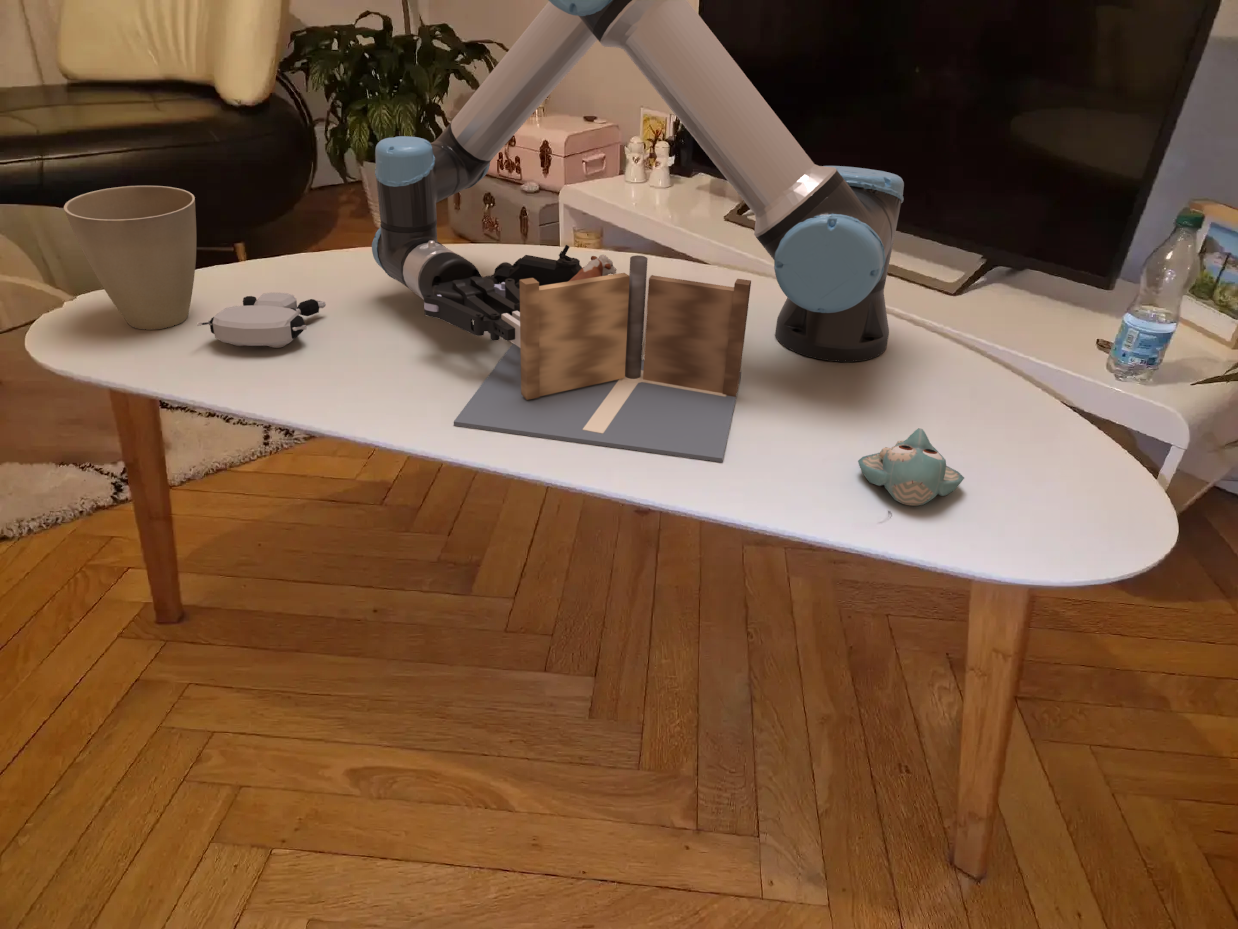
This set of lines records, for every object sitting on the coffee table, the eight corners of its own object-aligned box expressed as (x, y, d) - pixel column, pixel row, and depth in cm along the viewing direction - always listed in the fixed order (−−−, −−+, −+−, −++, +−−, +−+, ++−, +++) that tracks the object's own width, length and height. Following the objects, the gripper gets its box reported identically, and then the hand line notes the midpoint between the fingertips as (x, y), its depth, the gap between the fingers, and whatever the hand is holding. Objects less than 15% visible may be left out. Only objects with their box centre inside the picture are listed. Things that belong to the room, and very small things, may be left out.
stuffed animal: (968, 417, 99) (982, 452, 88) (954, 480, 101) (965, 522, 90) (865, 402, 101) (866, 435, 90) (853, 464, 103) (853, 503, 92)
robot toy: (245, 317, 129) (198, 354, 116) (240, 285, 127) (192, 319, 114) (333, 321, 129) (296, 359, 116) (330, 290, 127) (292, 324, 114)
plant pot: (75, 319, 124) (42, 199, 116) (182, 291, 134) (158, 179, 126) (129, 352, 116) (97, 226, 108) (238, 320, 126) (217, 202, 118)
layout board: (740, 375, 118) (741, 371, 117) (722, 462, 99) (722, 457, 99) (512, 347, 122) (512, 343, 122) (453, 425, 104) (453, 420, 103)
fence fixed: (622, 381, 115) (628, 259, 107) (627, 374, 116) (633, 254, 108) (734, 401, 111) (749, 277, 103) (737, 394, 113) (752, 271, 105)
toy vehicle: (570, 314, 135) (573, 255, 130) (474, 296, 138) (474, 238, 133) (587, 295, 142) (591, 239, 137) (496, 278, 145) (496, 222, 140)
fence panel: (618, 373, 115) (623, 263, 108) (625, 378, 114) (630, 268, 106) (521, 394, 109) (519, 279, 102) (527, 399, 108) (525, 284, 100)
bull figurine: (619, 307, 136) (622, 253, 131) (577, 339, 125) (578, 281, 121) (592, 301, 137) (594, 247, 133) (548, 333, 127) (548, 275, 122)
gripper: (392, 259, 117) (484, 323, 102) (488, 243, 125) (588, 300, 109) (397, 315, 121) (486, 385, 105) (489, 296, 129) (586, 358, 113)
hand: (538, 342), depth 107 cm, fingers closed
